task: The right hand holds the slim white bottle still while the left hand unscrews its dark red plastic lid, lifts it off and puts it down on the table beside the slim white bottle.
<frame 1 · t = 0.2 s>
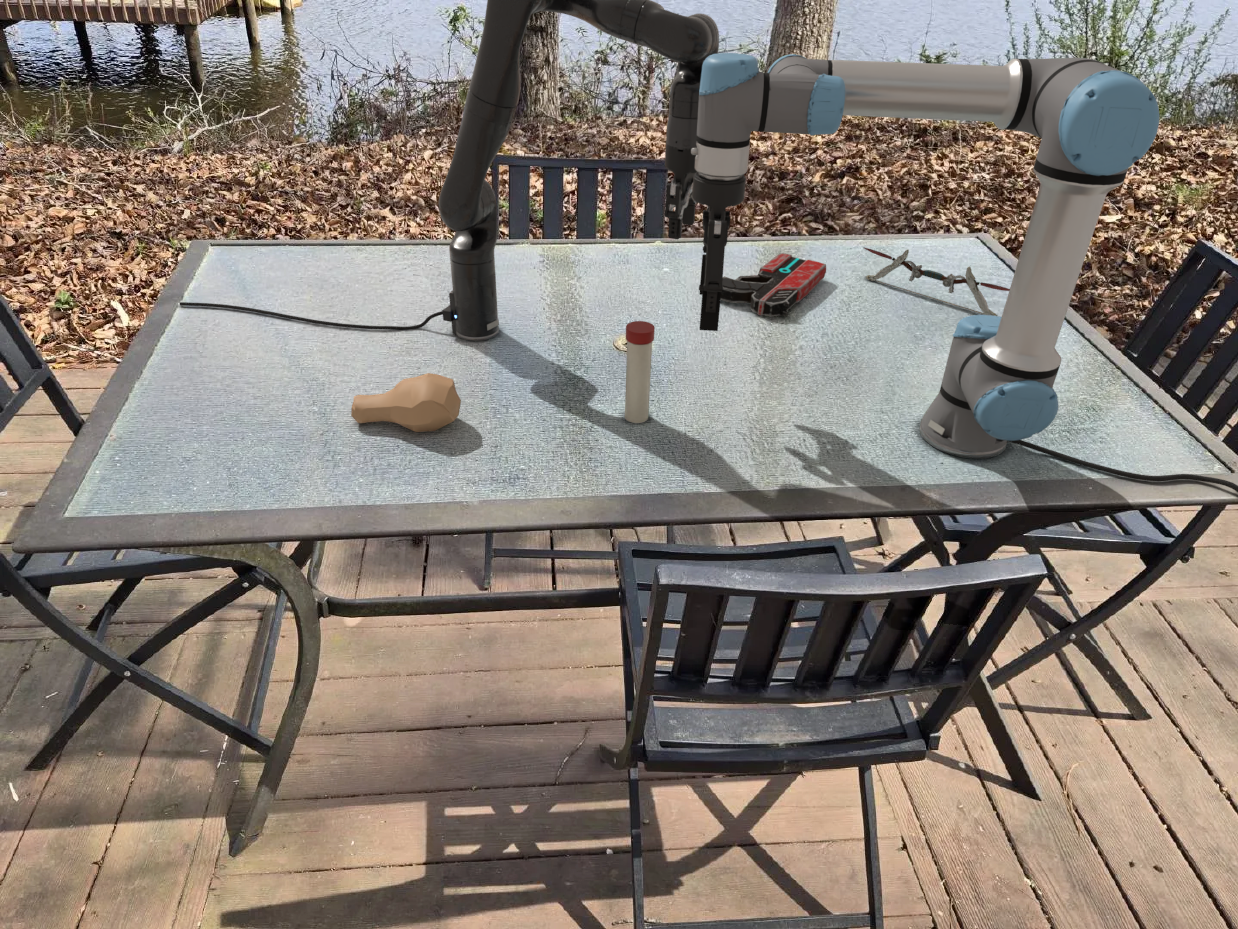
left hand: (681, 231, 164), 29 cm above the table, tool pointing down, fingers open, 8 cm apart
right hand: (708, 311, 137), 28 cm above the table, tool pointing down, fingers open, 13 cm apart
gun: (770, 291, 216), on the table
slim white bottle: (636, 417, 164), on the table
lid: (640, 328, 154), point 18 cm above the table, screwed on, not yet turned
bow: (928, 298, 215), on the table
squash: (408, 423, 160), on the table
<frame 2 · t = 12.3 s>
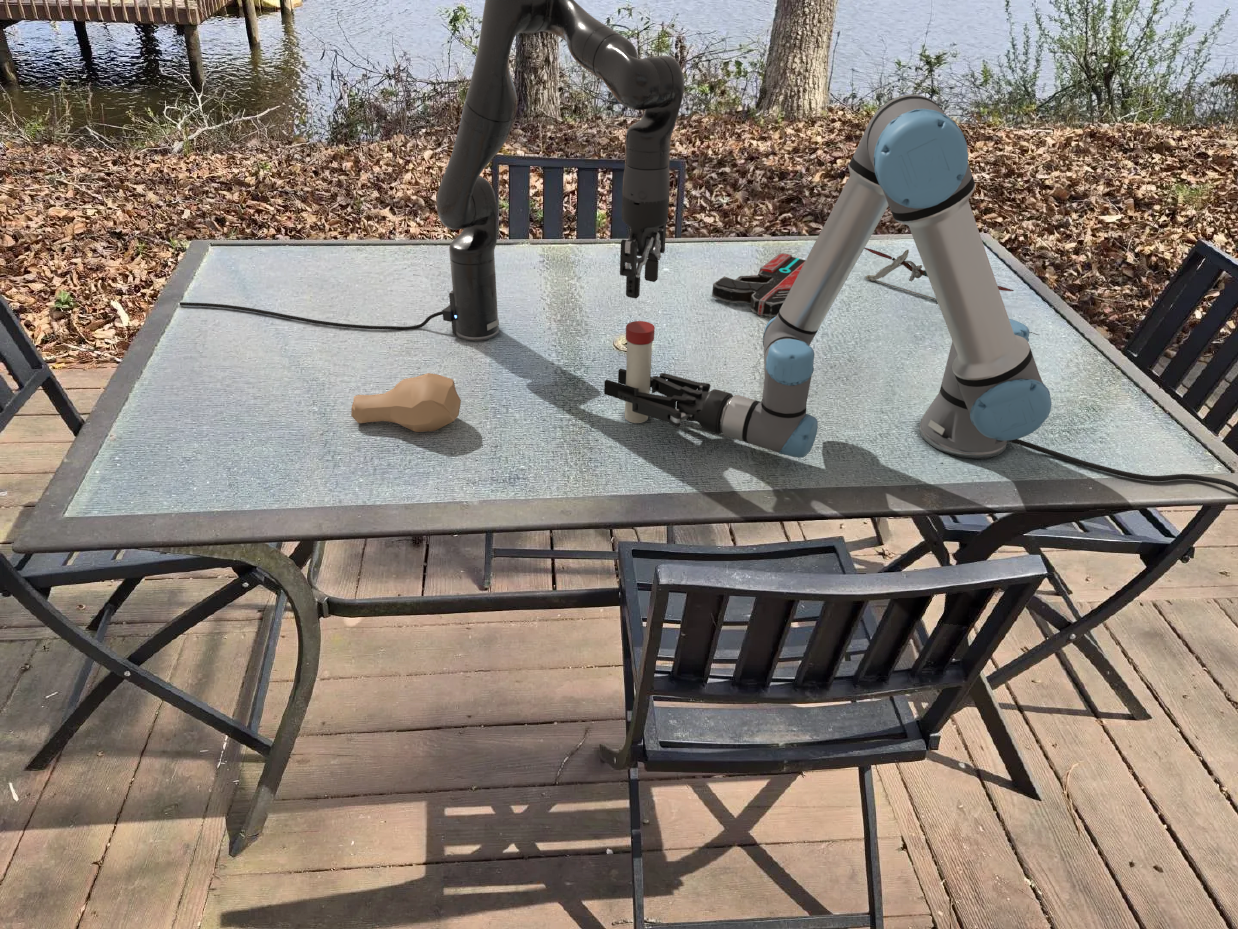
left hand: (641, 288, 150), 26 cm above the table, tool pointing down, fingers open, 7 cm apart
right hand: (612, 381, 163), 6 cm above the table, tool horizontal, fingers closed on slim white bottle, 4 cm apart
slim white bottle: (636, 417, 164), on the table, touching right hand
everything else where it was.
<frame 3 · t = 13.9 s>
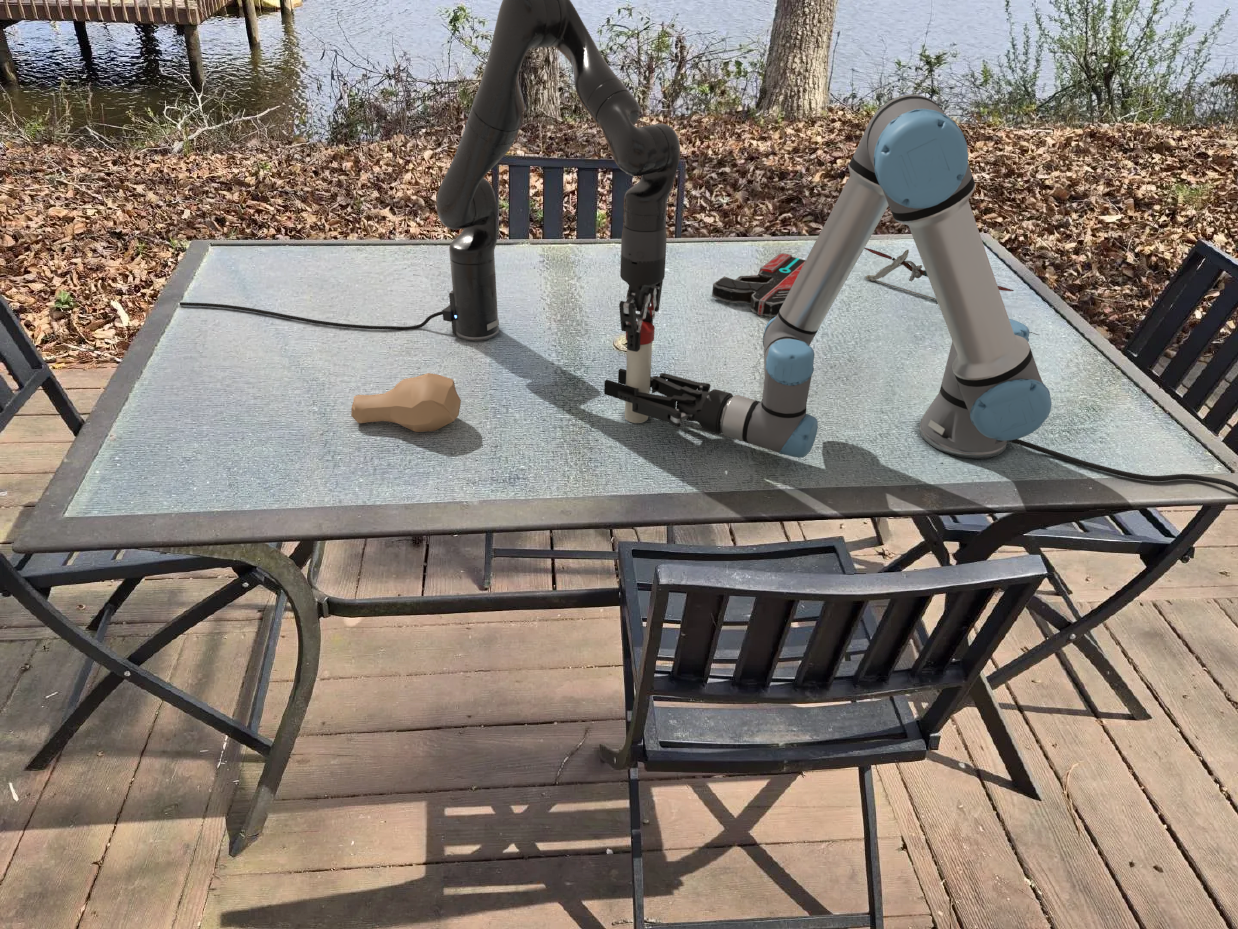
left hand: (639, 343, 156), 15 cm above the table, tool pointing down, fingers closed on lid, 5 cm apart
right hand: (612, 381, 163), 6 cm above the table, tool horizontal, fingers closed on slim white bottle, 4 cm apart
slim white bottle: (636, 417, 164), on the table, touching right hand
lid: (640, 328, 154), point 18 cm above the table, screwed on, not yet turned, touching left hand
everything else where it was.
when the left hand's fingers open (15 cm above the table, at t = 15.6 s): lid stays where it is, point 18 cm above the table.
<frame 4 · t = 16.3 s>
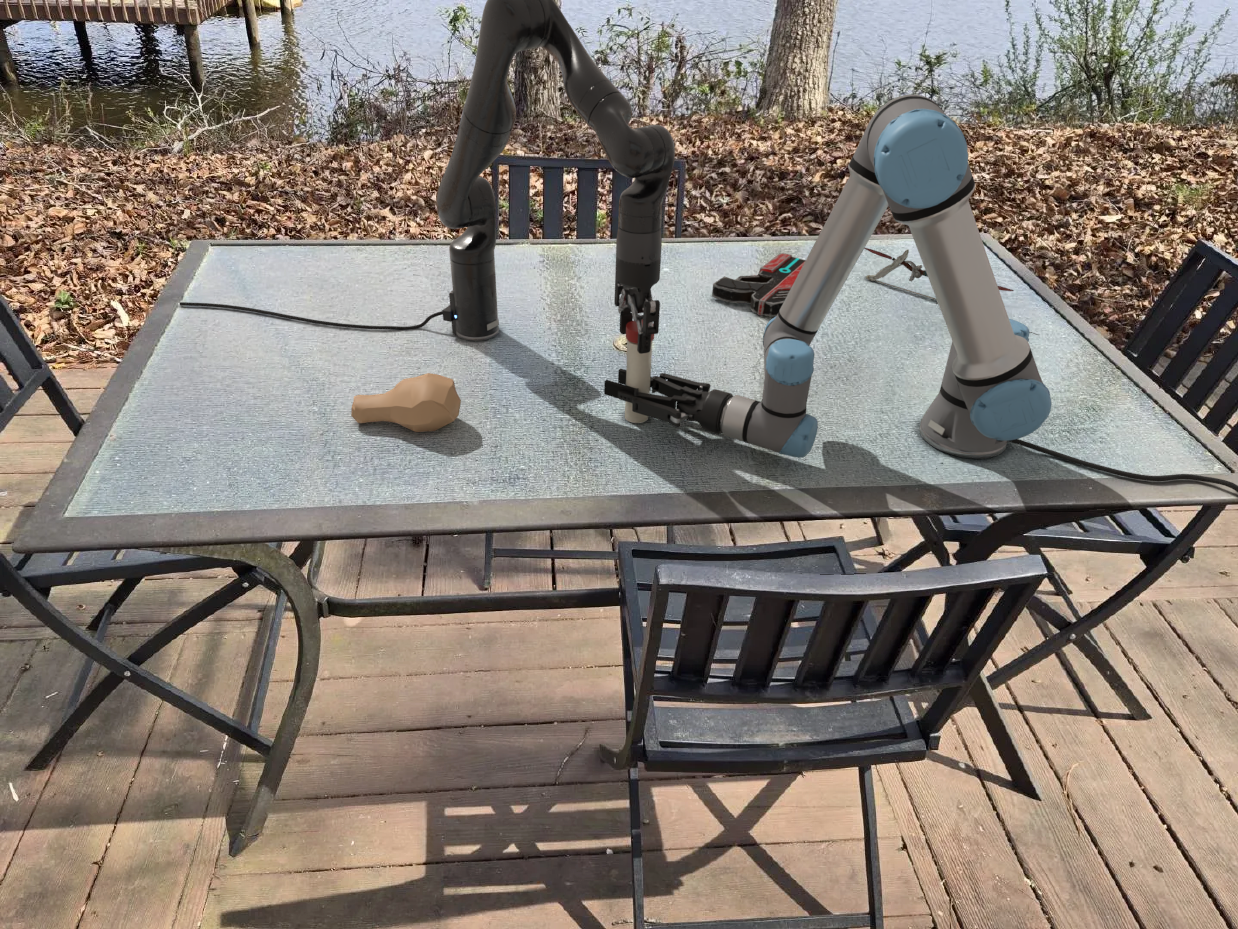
left hand: (634, 342, 155), 16 cm above the table, tool pointing down, fingers open, 7 cm apart
right hand: (612, 381, 163), 6 cm above the table, tool horizontal, fingers closed on slim white bottle, 4 cm apart
slim white bottle: (636, 417, 164), on the table, touching right hand
lid: (640, 327, 154), point 18 cm above the table, turned 87° so far, risen 0.2 cm, still on its thread
everything else where it was.
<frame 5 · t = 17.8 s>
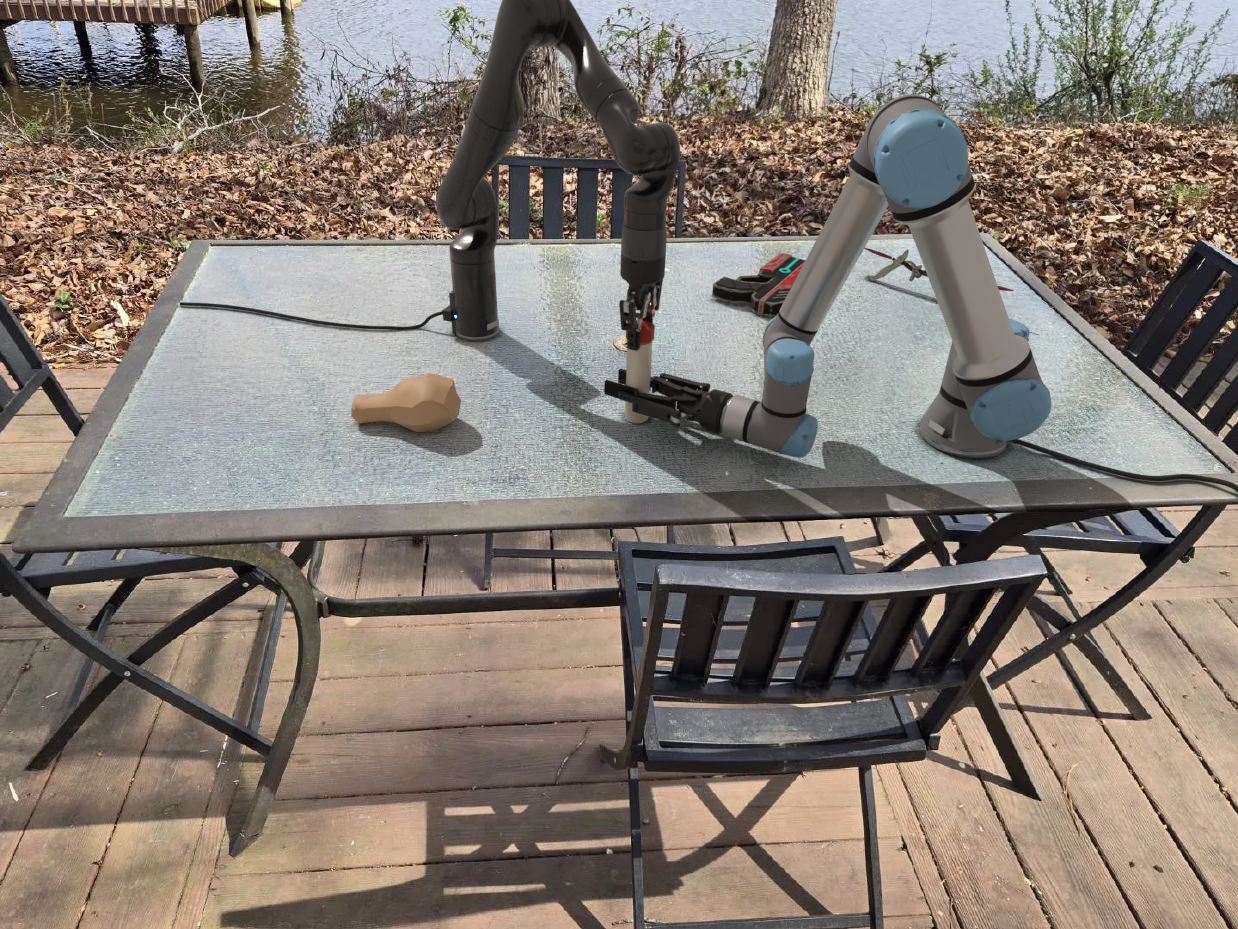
left hand: (639, 342, 156), 15 cm above the table, tool pointing down, fingers closed on lid, 5 cm apart
right hand: (612, 381, 163), 6 cm above the table, tool horizontal, fingers closed on slim white bottle, 4 cm apart
slim white bottle: (636, 417, 164), on the table, touching right hand
lid: (640, 327, 154), point 18 cm above the table, turned 87° so far, risen 0.2 cm, still on its thread, touching left hand
everything else where it was.
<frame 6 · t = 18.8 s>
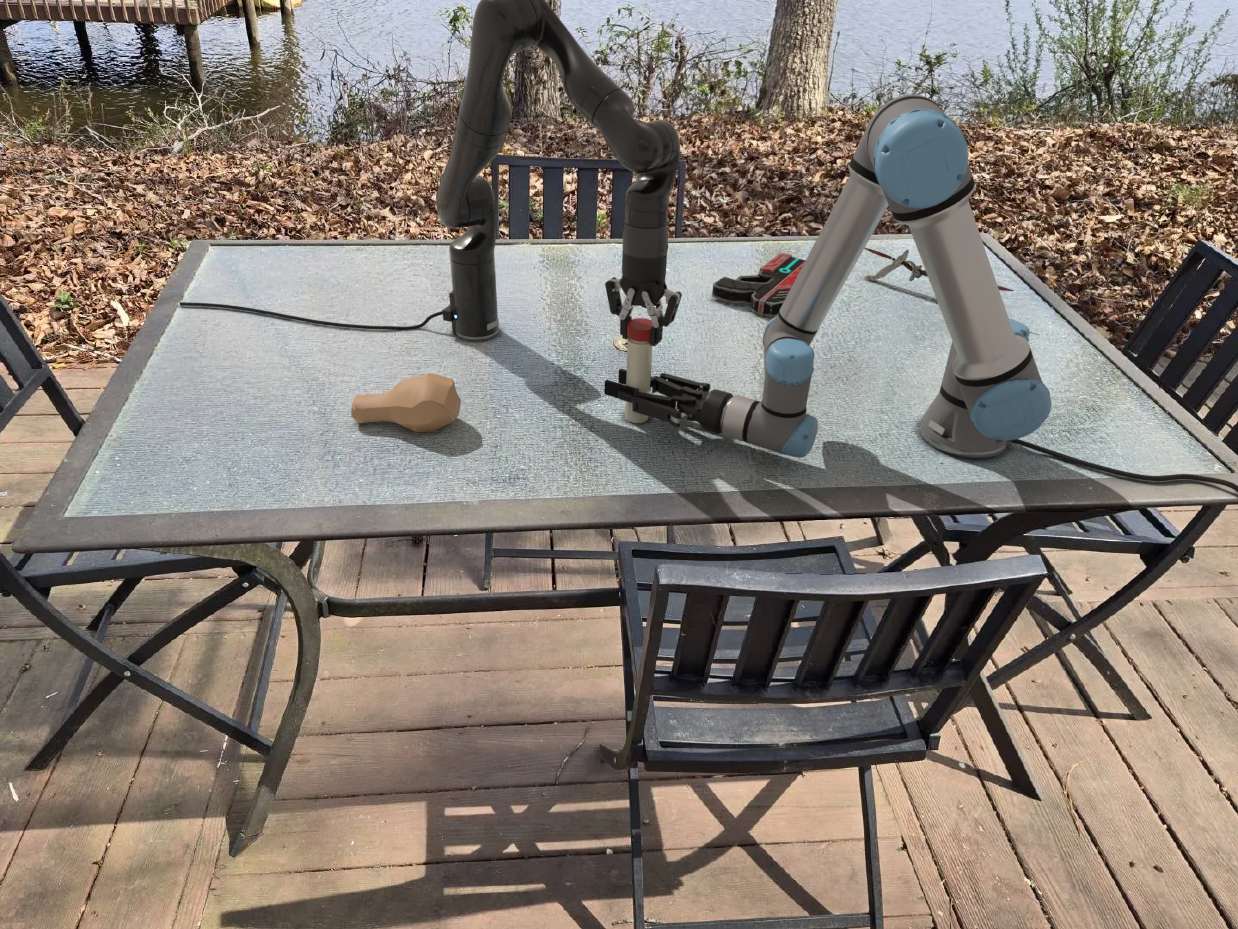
left hand: (640, 340, 156), 16 cm above the table, tool pointing down, fingers closed on lid, 5 cm apart
right hand: (612, 381, 163), 6 cm above the table, tool horizontal, fingers closed on slim white bottle, 4 cm apart
slim white bottle: (636, 417, 164), on the table, touching right hand
lid: (641, 325, 154), point 18 cm above the table, off its thread, touching left hand
everything else where it was.
when the left hand's fingers open (1 cm above the table, at t = 24.5 s): lid drops 2 cm, point 2 cm above the table.
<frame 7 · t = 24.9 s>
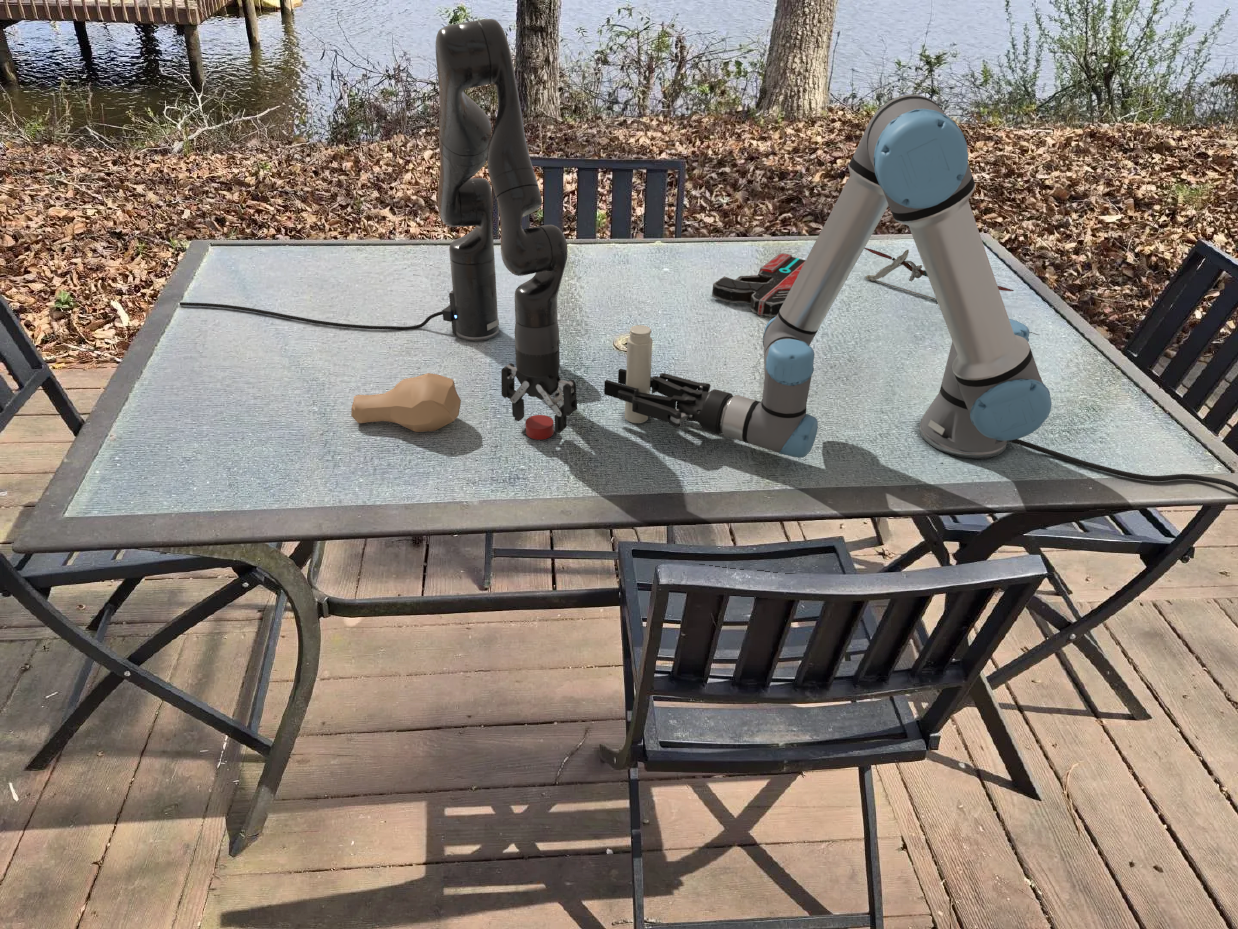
left hand: (539, 425, 158), 1 cm above the table, tool pointing down, fingers open, 8 cm apart
right hand: (612, 381, 163), 6 cm above the table, tool horizontal, fingers closed on slim white bottle, 4 cm apart
slim white bottle: (636, 417, 164), on the table, touching right hand
lid: (539, 423, 158), point 2 cm above the table, off its thread
everything else where it was.
when the right hand's fingers open (6 cm above the table, at t = 25.4 s): slim white bottle stays where it is, on the table.
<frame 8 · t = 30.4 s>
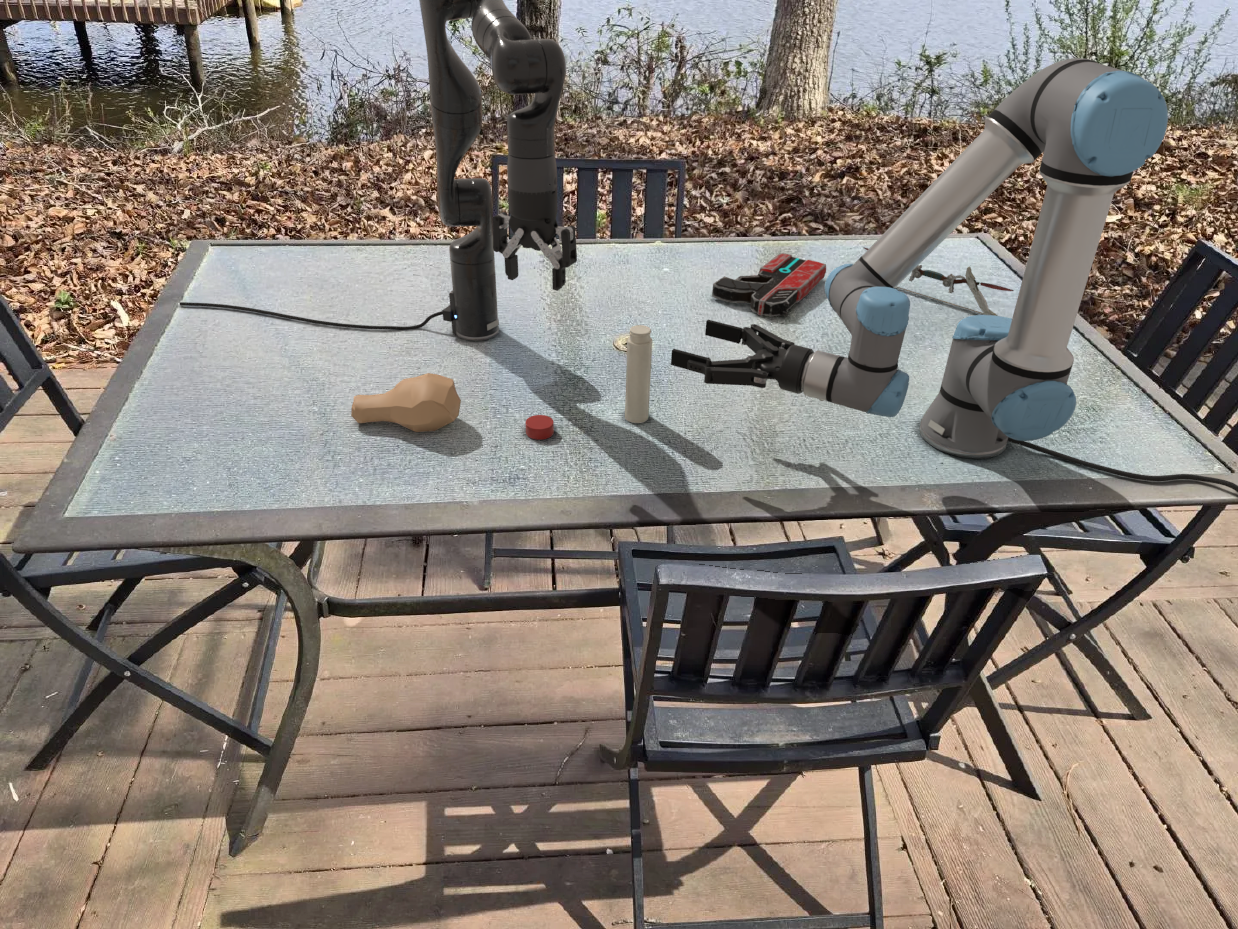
left hand: (535, 283, 143), 28 cm above the table, tool pointing down, fingers open, 8 cm apart
right hand: (689, 341, 150), 18 cm above the table, tool horizontal, fingers open, 13 cm apart
slim white bottle: (636, 417, 164), on the table
everything else where it was.
at the end: lid came off its thread; lid point 1.9 cm above the table; the left hand is holding nothing; the right hand is holding nothing; slim white bottle tilted 0°; slim white bottle moved 0.0 cm from its start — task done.
